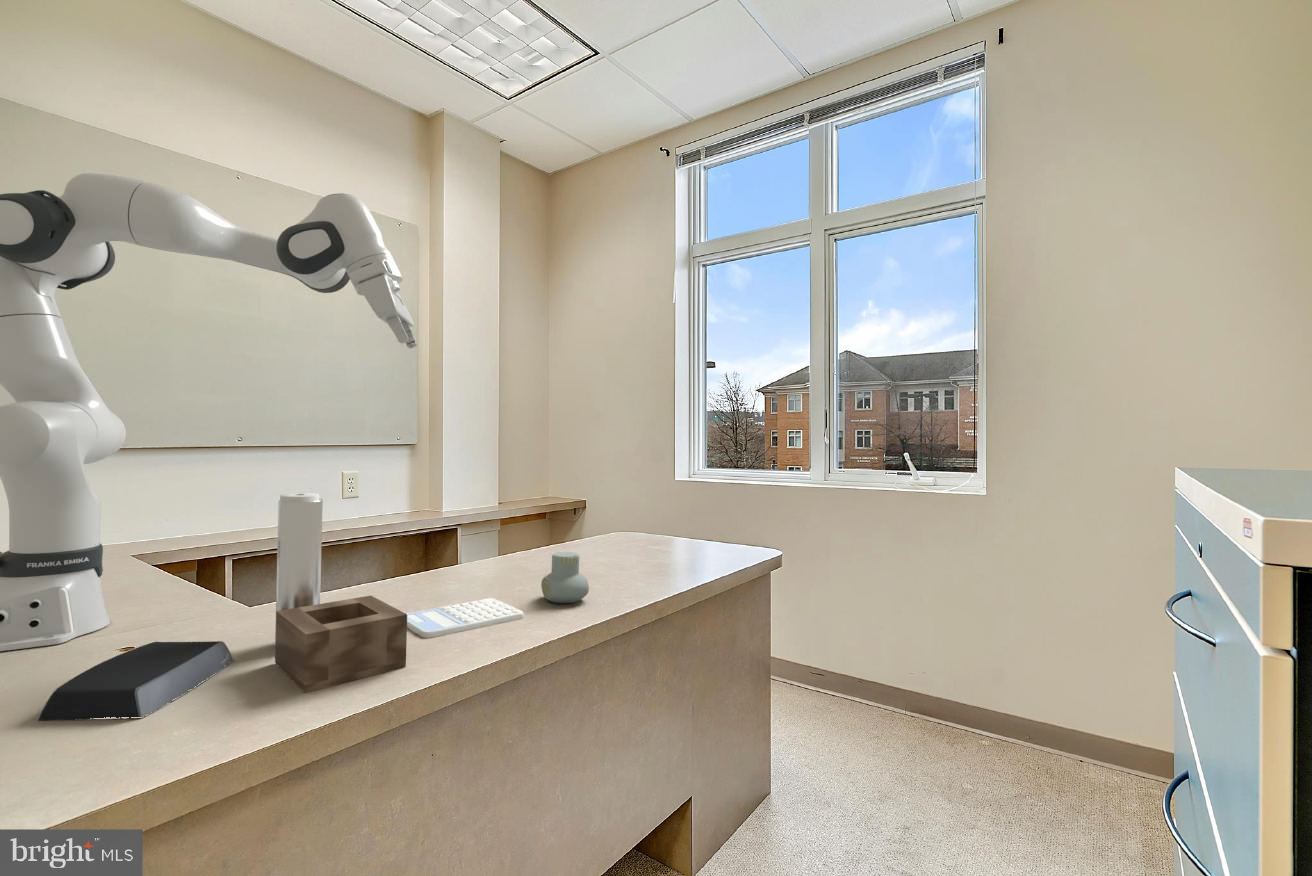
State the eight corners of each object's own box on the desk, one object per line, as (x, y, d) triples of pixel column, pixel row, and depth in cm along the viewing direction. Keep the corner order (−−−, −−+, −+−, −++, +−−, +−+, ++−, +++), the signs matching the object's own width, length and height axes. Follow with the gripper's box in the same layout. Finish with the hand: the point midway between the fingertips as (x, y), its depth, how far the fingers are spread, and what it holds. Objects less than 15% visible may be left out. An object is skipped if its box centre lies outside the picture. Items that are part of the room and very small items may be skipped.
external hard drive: (238, 663, 94) (239, 636, 94) (146, 723, 75) (147, 689, 75) (147, 663, 93) (148, 636, 93) (30, 724, 73) (30, 691, 73)
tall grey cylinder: (305, 651, 98) (309, 496, 98) (265, 650, 98) (269, 495, 98) (327, 638, 105) (331, 492, 104) (290, 636, 105) (293, 491, 104)
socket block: (304, 692, 83) (305, 634, 83) (275, 663, 93) (276, 611, 93) (405, 666, 93) (407, 614, 93) (369, 642, 103) (371, 595, 103)
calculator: (525, 620, 119) (526, 610, 119) (424, 642, 106) (425, 631, 106) (492, 604, 129) (492, 595, 129) (396, 622, 115) (396, 612, 115)
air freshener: (538, 595, 135) (539, 550, 135) (573, 592, 139) (574, 548, 139) (554, 608, 126) (555, 560, 126) (591, 604, 130) (593, 557, 130)
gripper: (373, 294, 127) (403, 355, 128) (346, 272, 107) (382, 345, 109) (402, 283, 128) (431, 344, 130) (381, 259, 108) (416, 332, 110)
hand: (409, 344), depth 119 cm, fingers open, 8 cm apart
